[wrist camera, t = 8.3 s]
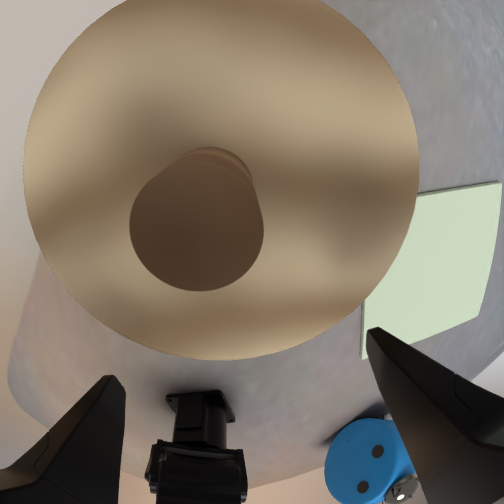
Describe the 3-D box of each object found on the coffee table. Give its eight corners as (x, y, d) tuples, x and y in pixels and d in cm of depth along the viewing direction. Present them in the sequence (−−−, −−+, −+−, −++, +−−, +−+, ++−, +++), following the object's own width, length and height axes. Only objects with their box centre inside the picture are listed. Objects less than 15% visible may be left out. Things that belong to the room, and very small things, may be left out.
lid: (400, 311, 14) (441, 373, 10) (111, 360, 15) (88, 426, 11) (374, -20, 7) (433, -63, 3) (9, 72, 8) (-63, 74, 3)
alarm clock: (343, 446, 37) (362, 522, 24) (315, 444, 36) (332, 528, 22) (402, 402, 33) (438, 486, 19) (377, 398, 31) (413, 494, 18)
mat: (475, 312, 26) (477, 315, 26) (360, 355, 27) (361, 359, 26) (497, 181, 19) (501, 183, 19) (359, 204, 20) (362, 207, 19)
